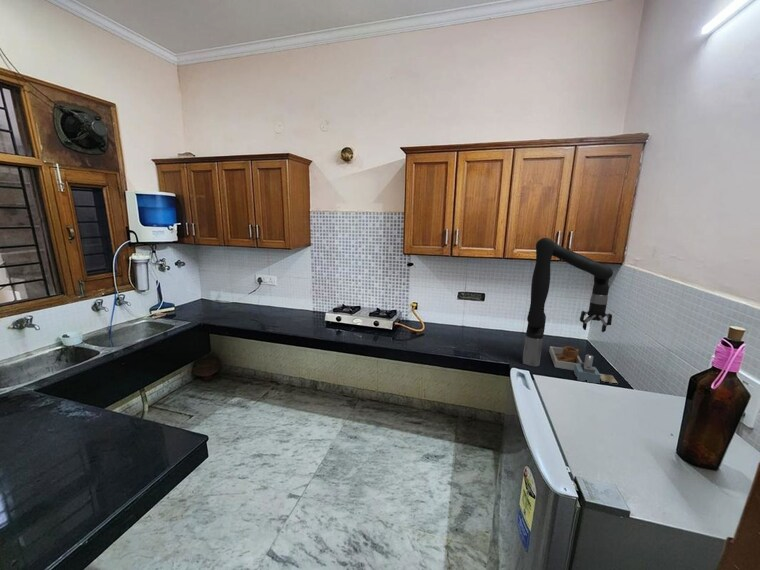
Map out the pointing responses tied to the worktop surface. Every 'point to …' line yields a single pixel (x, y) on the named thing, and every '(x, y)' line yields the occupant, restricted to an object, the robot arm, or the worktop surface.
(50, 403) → the worktop surface
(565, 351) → the bracket
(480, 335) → the worktop surface
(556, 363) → the frame
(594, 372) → the vise block
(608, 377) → the rest board
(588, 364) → the steel pin
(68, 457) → the worktop surface
